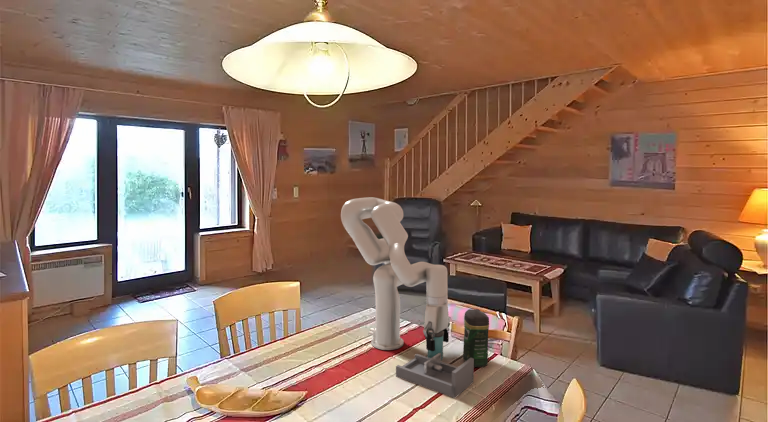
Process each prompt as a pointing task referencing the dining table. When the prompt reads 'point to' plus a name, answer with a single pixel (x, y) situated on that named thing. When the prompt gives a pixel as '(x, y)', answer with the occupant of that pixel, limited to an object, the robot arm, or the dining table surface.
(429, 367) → the pusher plate
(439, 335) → the spice jar
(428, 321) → the robot arm
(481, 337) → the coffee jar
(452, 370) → the grey divided tray
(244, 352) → the dining table surface
